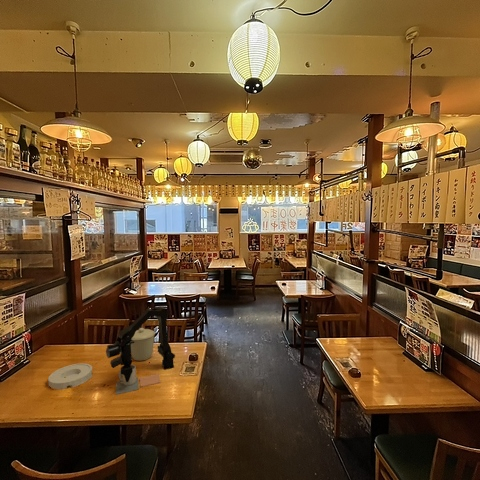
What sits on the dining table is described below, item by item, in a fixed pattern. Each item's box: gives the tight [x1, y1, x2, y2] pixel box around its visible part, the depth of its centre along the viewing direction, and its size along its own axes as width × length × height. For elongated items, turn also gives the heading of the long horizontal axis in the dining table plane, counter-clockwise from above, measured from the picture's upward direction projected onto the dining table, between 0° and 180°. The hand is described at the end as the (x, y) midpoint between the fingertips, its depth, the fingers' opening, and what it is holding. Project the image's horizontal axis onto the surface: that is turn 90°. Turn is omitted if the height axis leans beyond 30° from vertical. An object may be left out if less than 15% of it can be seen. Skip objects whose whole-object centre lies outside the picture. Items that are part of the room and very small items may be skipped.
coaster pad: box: [139, 373, 161, 388], centre depth 170 cm, size 11×10×1 cm
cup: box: [118, 364, 137, 386], centre depth 167 cm, size 7×10×9 cm
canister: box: [131, 327, 156, 362], centre depth 200 cm, size 18×18×21 cm
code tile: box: [115, 376, 140, 396], centre depth 165 cm, size 12×14×1 cm
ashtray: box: [47, 362, 93, 390], centre depth 174 cm, size 23×23×4 cm
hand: (127, 377), depth 168 cm, fingers open, 9 cm apart
